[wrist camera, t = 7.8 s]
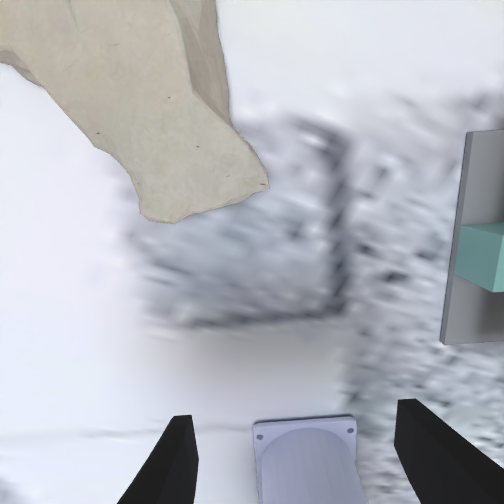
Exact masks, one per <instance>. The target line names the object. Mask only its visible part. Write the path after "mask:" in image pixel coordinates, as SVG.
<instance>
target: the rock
mask: <svg viewBox="0 0 504 504" xmlns="http://www.w3.org/2000/svg"><path fill="white" fill-rule="evenodd" d="M216 21H217V12H216V5H215V0H0V62H1V63H4V64H8V65H12V66H13V67H14V68H15V69H16V70H17V71H18V72H19V73H20V74H21V75H22V76H23V77H24V78H25V79H27V80H29V81H30V82H32V83H34V84H36V85H42V86H43V88H44V89H45V90H46V91H47V92H48V94H49V95H50V96H51V97H52V98H53V100H54V101H55V102H56V103H57V104H58V105H59V107H60V108H61V109H62V110H63V111H64V112H65V114H66V115H67V116H68V117H69V118H70V119H71V120H72V121H73V122H74V123H75V124H76V125H77V127H78V128H79V129H80V130H81V131H82V132H83V133H84V134H85V135H86V136H87V137H88V139H89V140H90V141H91V143H92V144H93V146H94V147H96V148H98V149H100V150H102V151H105V152H107V153H109V154H111V155H112V156H113V157H114V158H115V159H116V160H117V161H118V162H119V163H120V164H121V165H122V167H123V168H124V169H125V170H126V171H127V173H128V174H129V175H130V177H131V180H132V182H133V185H134V187H135V190H136V192H137V195H138V197H139V209H140V214H142V215H143V216H144V217H145V218H147V219H148V220H149V221H153V222H158V223H169V224H175V223H177V222H179V221H181V220H182V219H184V218H186V217H187V216H189V215H191V214H194V213H201V212H206V211H210V210H213V209H217V208H220V207H224V206H227V205H231V204H235V203H239V202H242V201H244V200H245V199H246V198H248V197H249V196H250V195H252V194H254V193H256V192H259V191H263V190H267V189H270V186H269V181H268V177H267V173H266V170H265V169H264V167H263V165H262V163H261V161H260V159H259V157H258V156H257V154H256V153H255V151H254V150H253V148H252V146H251V145H250V144H249V143H248V142H246V141H245V140H244V139H243V138H242V137H241V136H240V135H239V134H238V133H237V132H236V131H235V130H234V129H233V127H232V125H231V123H230V118H229V90H228V84H227V78H226V71H225V65H224V56H223V51H222V47H221V44H220V40H219V35H218V31H217V26H216ZM118 43H119V44H118ZM115 44H117V45H115ZM112 45H113V46H112Z"/></svg>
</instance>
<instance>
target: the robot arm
mask: <svg viewBox="0 0 504 504" xmlns="http://www.w3.org/2000/svg"><path fill="white" fill-rule="evenodd" d="M349 428H350V429H349ZM356 435H357V423H356V420H355V419H354V418H353V417H336V418H322V419H308V420H294V421H280V422H266V423H257V424H255V425H254V426H253V438H254V449H255V460H256V471H257V483H258V494H259V504H369V503H368V500H367V498H366V495H365V492H364V490H363V487H362V484H361V481H360V479H359V476H358V473H357V470H356V468H355V459H356ZM394 447H395V449H396V451H397V454H398V456H399V459H400V461H401V464H402V466H403V468H404V471H405V473H406V475H407V477H408V480H409V482H410V484H411V485H412V487H413V489H414V491H415V493H416V495H417V497H418V499H419V500H420V502H421V504H504V469H503V468H502V467H500V466H499V465H498V464H497V463H495V462H494V461H493V460H491V459H490V458H489V457H487V456H486V455H485V454H484V453H482V452H481V451H480V450H478V449H477V448H476V447H475V446H473V445H472V444H471V443H470V442H468V441H467V440H466V439H465V438H463V437H462V436H461V435H460V434H458V433H457V432H456V431H455V430H454V429H452V428H451V427H450V426H449V425H447V424H446V423H445V422H444V421H443V420H441V419H440V418H439V417H438V416H436V415H435V414H434V413H433V412H432V411H430V410H429V409H428V408H427V407H426V406H424V405H423V404H422V403H421V402H419V401H418V400H417V399H416V398H415V399H402V400H398V406H397V417H396V428H395V439H394ZM198 462H199V457H198V451H197V445H196V439H195V433H194V427H193V421H192V415H181V416H174V417H173V418H172V419H171V421H170V422H169V424H168V426H167V427H166V429H165V431H164V433H163V434H162V436H161V438H160V439H159V441H158V443H157V444H156V446H155V447H154V449H153V451H152V452H151V454H150V455H149V457H148V459H147V460H146V462H145V463H144V465H143V466H142V468H141V469H140V471H139V472H138V474H137V475H136V477H135V478H134V480H133V481H132V483H131V484H130V486H129V487H128V489H127V490H126V491H125V493H124V494H123V496H122V497H121V498H120V500H119V501H118V503H117V504H193V503H194V498H195V490H196V482H197V472H198Z"/></svg>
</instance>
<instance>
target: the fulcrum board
mask: <svg viewBox="0 0 504 504" xmlns="http://www.w3.org/2000/svg"><path fill="white" fill-rule="evenodd" d="M494 341H504V129H503V130H489V131H475V132H468V133H467V137H466V145H465V153H464V160H463V168H462V175H461V183H460V191H459V198H458V206H457V214H456V221H455V229H454V237H453V244H452V252H451V260H450V267H449V275H448V283H447V290H446V298H445V306H444V313H443V321H442V328H441V336H440V342H442V343H443V344H444V345H453V344H467V343H480V342H494Z"/></svg>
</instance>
